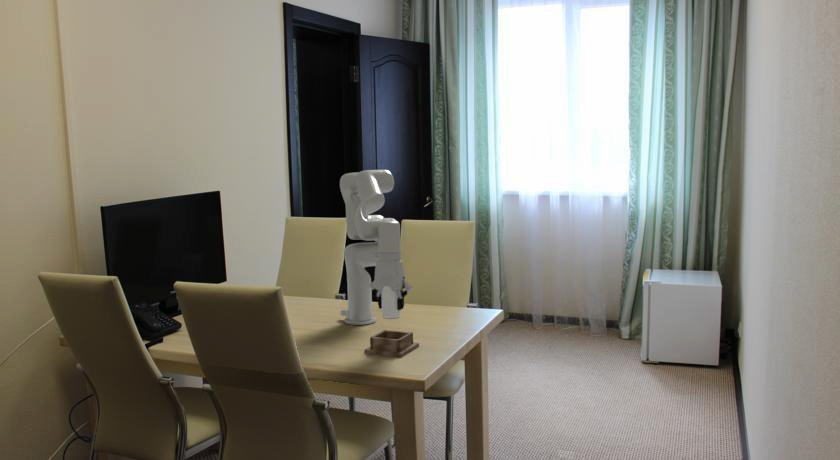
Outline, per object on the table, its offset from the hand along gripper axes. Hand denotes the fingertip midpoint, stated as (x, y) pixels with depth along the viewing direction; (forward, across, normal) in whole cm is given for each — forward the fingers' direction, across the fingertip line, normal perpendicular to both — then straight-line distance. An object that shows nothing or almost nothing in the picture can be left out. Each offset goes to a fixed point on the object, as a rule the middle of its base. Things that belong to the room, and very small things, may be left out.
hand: (391, 308), depth 253 cm
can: (+3, 0, 0) cm, 3 cm away
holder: (+15, 0, 0) cm, 15 cm away
